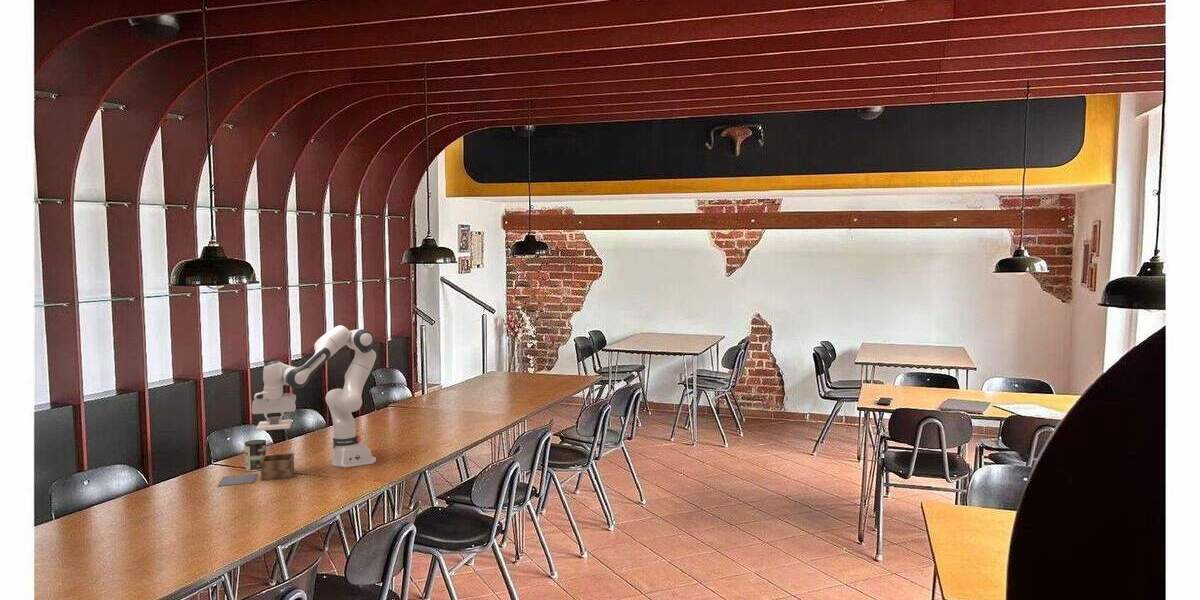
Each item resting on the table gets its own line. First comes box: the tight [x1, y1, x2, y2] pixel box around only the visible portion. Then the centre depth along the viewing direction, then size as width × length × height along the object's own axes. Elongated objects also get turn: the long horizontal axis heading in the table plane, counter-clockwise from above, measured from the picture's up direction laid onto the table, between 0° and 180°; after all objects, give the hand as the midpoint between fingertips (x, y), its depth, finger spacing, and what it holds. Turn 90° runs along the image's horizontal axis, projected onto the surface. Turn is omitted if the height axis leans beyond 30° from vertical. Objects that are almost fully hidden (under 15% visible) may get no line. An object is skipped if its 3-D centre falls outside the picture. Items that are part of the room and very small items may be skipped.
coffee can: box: [243, 439, 267, 472], centre depth 399 cm, size 10×10×14 cm
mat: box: [217, 473, 259, 487], centre depth 378 cm, size 16×16×1 cm
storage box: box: [260, 452, 295, 481], centre depth 385 cm, size 14×14×9 cm
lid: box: [255, 416, 293, 432], centre depth 384 cm, size 15×15×4 cm
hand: (274, 421), depth 384 cm, fingers closed on lid, 4 cm apart
